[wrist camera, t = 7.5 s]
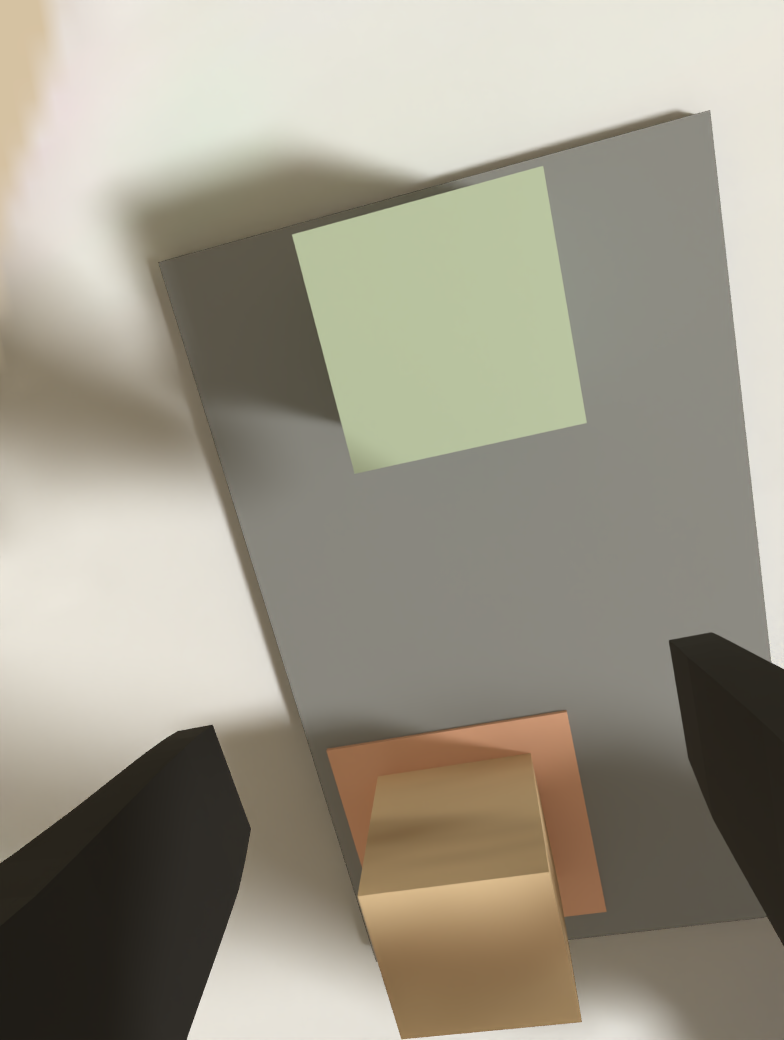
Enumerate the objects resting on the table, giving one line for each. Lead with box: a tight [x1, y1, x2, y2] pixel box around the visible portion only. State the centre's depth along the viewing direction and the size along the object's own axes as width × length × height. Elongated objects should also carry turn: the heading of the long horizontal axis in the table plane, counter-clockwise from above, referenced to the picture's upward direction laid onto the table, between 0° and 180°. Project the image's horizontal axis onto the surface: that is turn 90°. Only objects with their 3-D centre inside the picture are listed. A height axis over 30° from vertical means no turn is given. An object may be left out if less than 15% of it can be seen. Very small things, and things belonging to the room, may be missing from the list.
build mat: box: [158, 110, 771, 962], centre depth 20 cm, size 22×13×1 cm, turn 14°
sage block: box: [292, 166, 587, 474], centre depth 16 cm, size 4×4×4 cm
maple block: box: [358, 753, 582, 1039], centre depth 20 cm, size 4×4×4 cm
